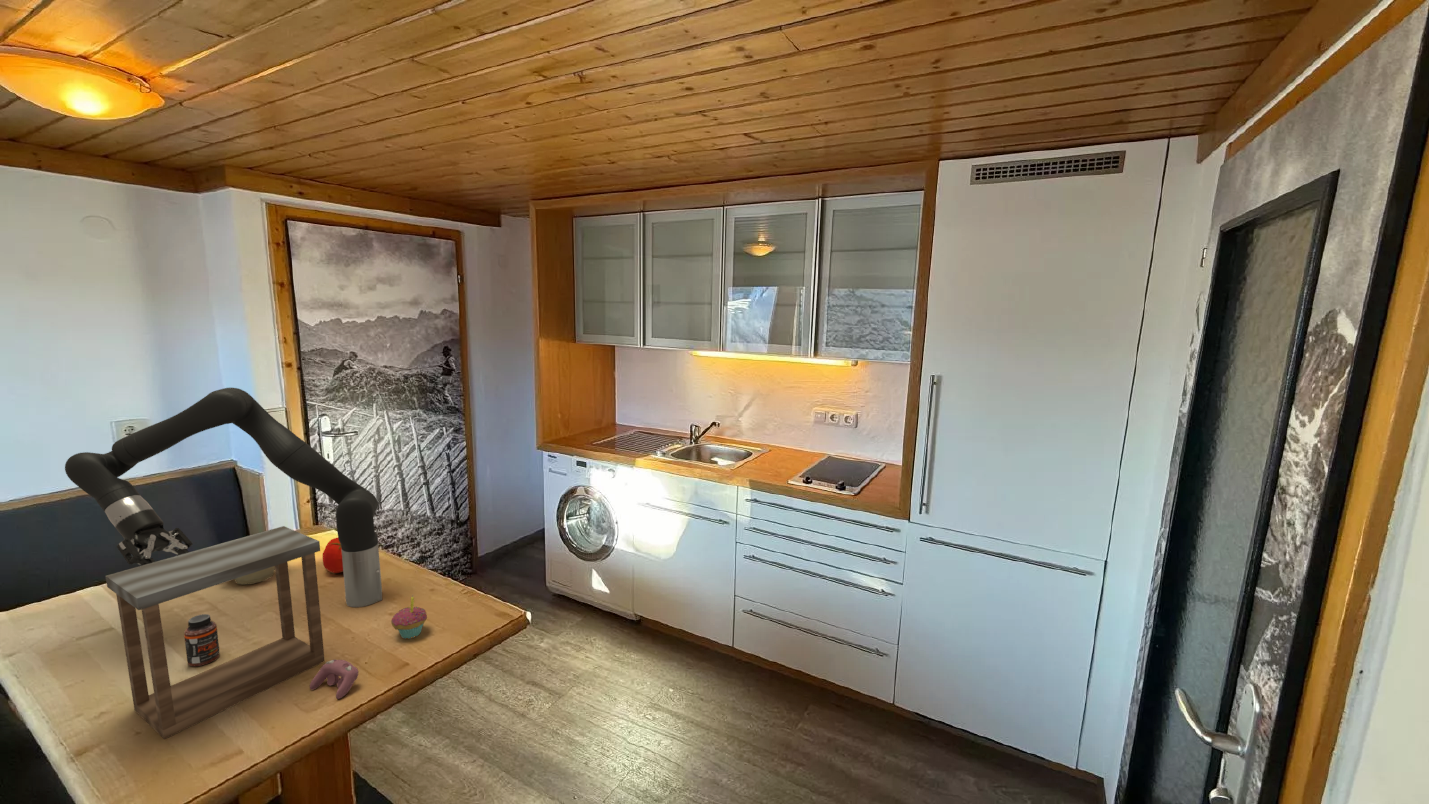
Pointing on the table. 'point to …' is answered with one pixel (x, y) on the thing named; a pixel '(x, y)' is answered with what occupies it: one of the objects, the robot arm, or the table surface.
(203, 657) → the supplement bottle
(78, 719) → the table surface
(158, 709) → the under-counter shelf
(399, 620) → the cupcake
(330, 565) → the tomato
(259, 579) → the planter bowl
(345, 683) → the video game controller
